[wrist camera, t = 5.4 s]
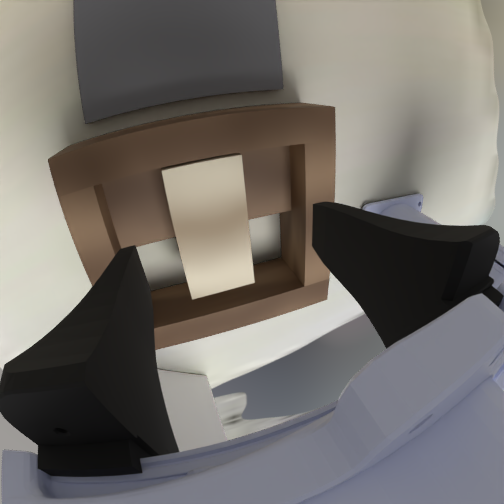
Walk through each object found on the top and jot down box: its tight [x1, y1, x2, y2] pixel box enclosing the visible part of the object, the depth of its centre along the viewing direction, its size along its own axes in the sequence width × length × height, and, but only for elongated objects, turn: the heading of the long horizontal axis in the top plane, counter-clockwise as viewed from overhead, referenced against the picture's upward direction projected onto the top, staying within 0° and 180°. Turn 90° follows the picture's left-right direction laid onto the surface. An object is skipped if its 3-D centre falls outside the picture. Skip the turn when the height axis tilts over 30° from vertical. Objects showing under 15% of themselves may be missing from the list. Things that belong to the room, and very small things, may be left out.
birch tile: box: [161, 153, 255, 300], centre depth 16 cm, size 8×4×2 cm, turn 5°
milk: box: [157, 369, 228, 452], centre depth 18 cm, size 6×6×22 cm
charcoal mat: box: [74, 0, 283, 124], centre depth 12 cm, size 11×12×1 cm
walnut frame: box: [48, 103, 336, 350], centre depth 18 cm, size 14×15×4 cm
